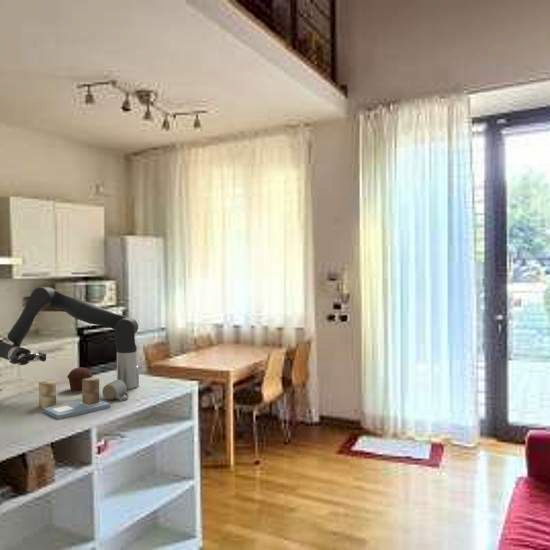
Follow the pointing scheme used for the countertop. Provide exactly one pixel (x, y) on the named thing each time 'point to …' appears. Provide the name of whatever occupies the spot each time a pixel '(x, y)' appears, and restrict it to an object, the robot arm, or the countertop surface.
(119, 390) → the ceramic mug
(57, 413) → the board
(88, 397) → the walnut pillar
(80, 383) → the muffin
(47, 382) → the oak pillar
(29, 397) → the countertop surface
